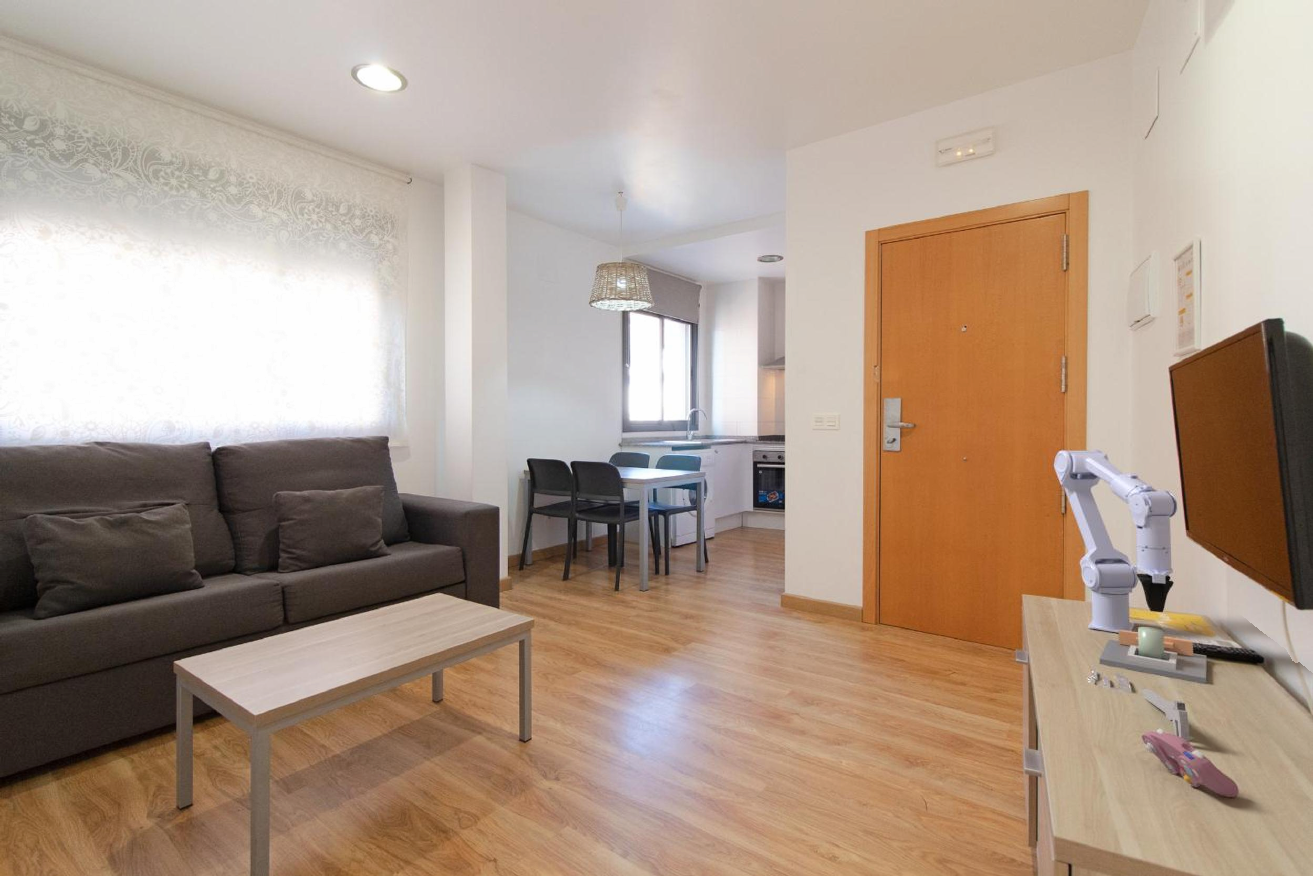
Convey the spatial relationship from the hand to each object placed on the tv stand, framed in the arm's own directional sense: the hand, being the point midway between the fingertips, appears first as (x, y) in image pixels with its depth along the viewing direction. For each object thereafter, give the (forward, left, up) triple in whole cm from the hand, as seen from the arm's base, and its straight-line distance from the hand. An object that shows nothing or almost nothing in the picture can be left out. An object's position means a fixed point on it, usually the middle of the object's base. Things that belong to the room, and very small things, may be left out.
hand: (1155, 609), depth 130 cm
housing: (+10, 0, -8) cm, 13 cm away
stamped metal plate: (+27, -6, -9) cm, 29 cm away
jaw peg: (+12, 0, -7) cm, 14 cm away
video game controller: (+60, +6, -9) cm, 61 cm away
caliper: (+39, +3, -9) cm, 40 cm away
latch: (+5, 0, -7) cm, 9 cm away
